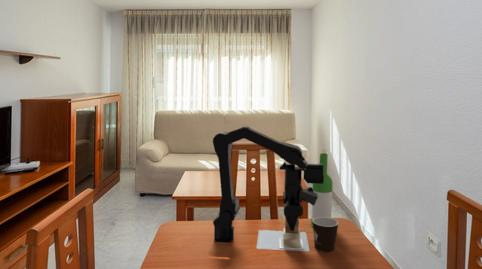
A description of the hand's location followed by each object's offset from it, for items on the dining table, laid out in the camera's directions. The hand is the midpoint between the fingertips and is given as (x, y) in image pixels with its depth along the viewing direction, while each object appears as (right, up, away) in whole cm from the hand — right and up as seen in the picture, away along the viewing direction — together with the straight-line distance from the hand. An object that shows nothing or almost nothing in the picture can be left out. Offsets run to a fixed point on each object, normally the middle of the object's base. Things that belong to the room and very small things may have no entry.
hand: (291, 225), depth 124 cm
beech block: (0, -7, +1) cm, 7 cm away
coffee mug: (+11, -8, 0) cm, 14 cm away
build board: (-3, -7, +4) cm, 9 cm away
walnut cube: (0, -2, 0) cm, 2 cm away
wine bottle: (+14, -6, +18) cm, 23 cm away
